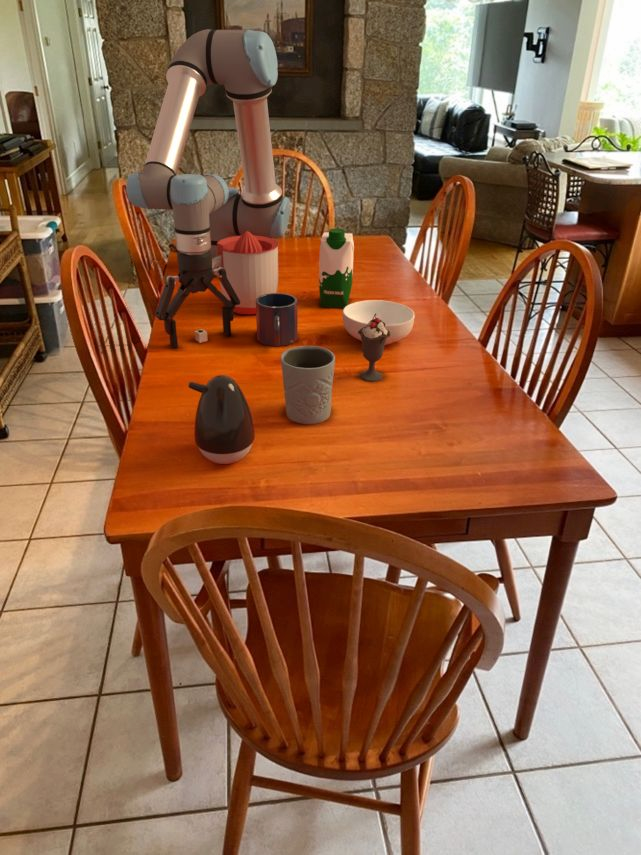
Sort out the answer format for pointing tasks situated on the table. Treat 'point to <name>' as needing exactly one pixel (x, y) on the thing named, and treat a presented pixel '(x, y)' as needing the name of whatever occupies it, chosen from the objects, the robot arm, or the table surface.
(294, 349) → the grey embossed cup
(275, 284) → the citrus juicer
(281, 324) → the mug
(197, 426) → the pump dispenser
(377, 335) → the sundae
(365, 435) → the table surface
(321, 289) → the milk carton
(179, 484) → the table surface
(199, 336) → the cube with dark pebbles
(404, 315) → the cereal bowl
